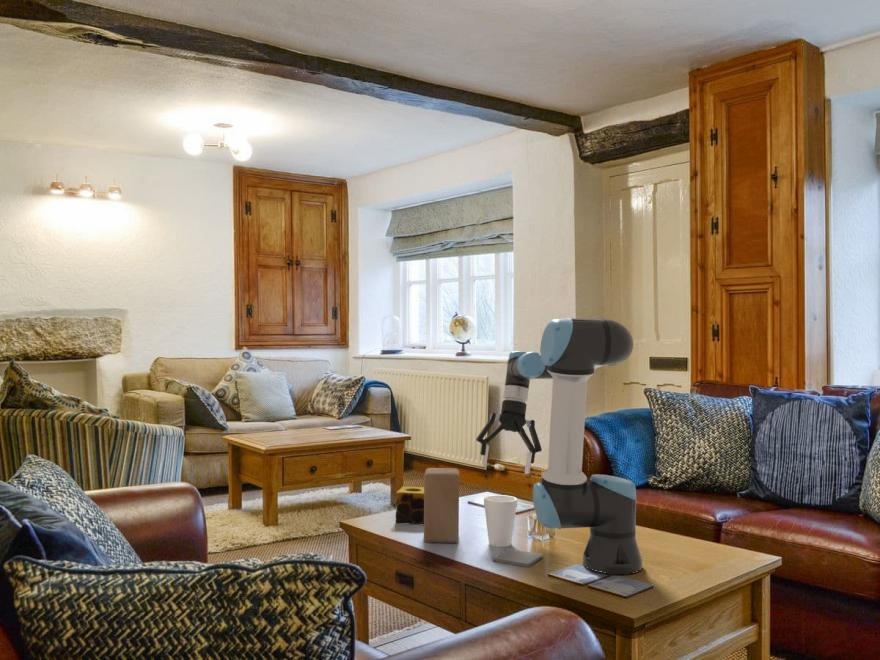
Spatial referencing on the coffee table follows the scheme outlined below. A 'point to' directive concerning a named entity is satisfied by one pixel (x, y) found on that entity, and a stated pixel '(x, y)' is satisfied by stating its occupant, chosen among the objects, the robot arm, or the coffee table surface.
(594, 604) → the coffee table surface
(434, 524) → the block
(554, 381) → the robot arm
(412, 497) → the giraffe print tissue box
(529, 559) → the slate coaster
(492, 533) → the foam cup
